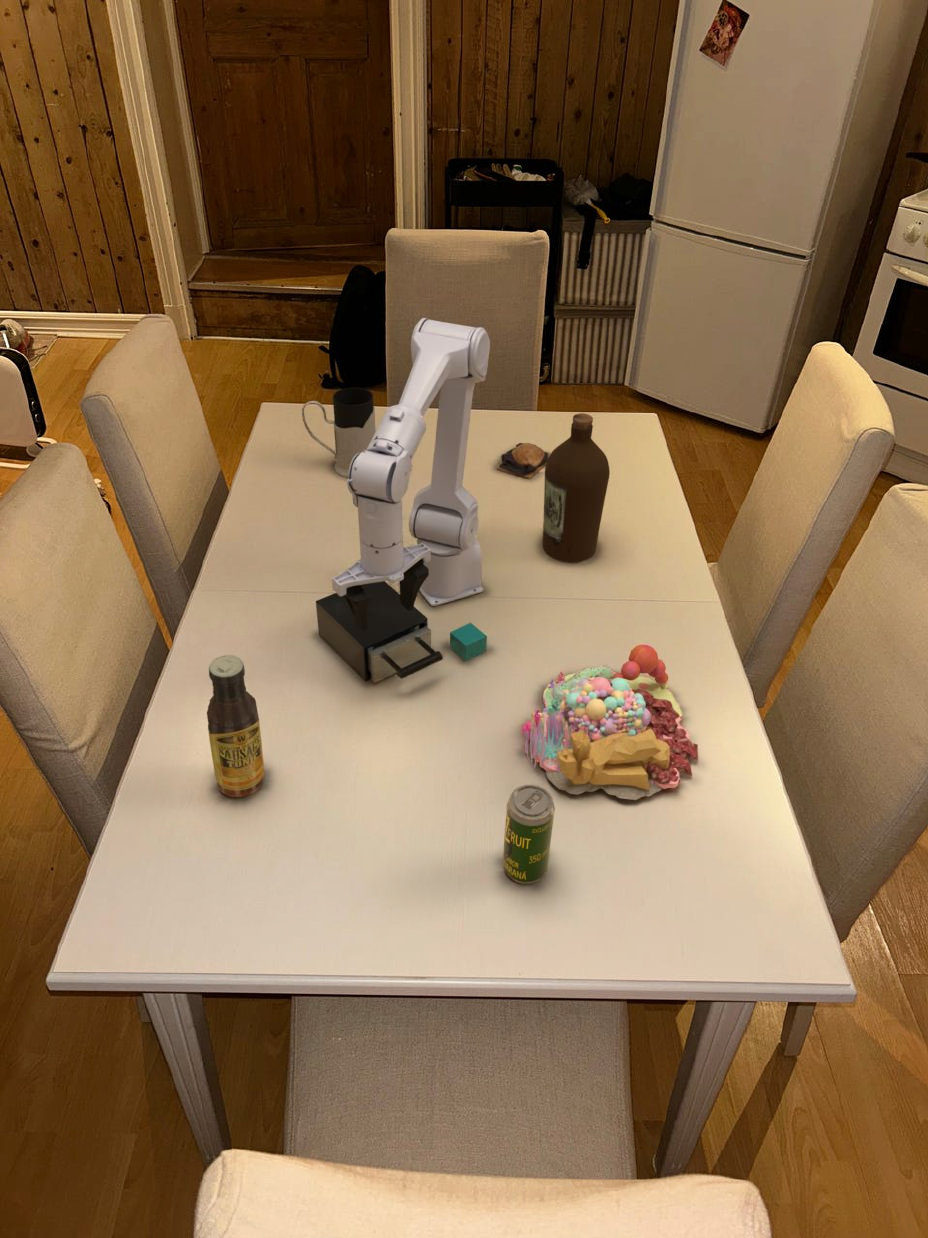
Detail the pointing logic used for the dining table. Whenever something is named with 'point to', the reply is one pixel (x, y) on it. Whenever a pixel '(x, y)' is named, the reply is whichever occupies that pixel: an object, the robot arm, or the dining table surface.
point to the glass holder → (349, 425)
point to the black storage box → (382, 624)
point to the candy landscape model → (612, 730)
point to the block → (468, 641)
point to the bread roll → (523, 460)
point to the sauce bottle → (234, 730)
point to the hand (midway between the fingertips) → (384, 616)
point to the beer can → (528, 833)
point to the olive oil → (574, 494)
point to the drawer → (402, 654)
